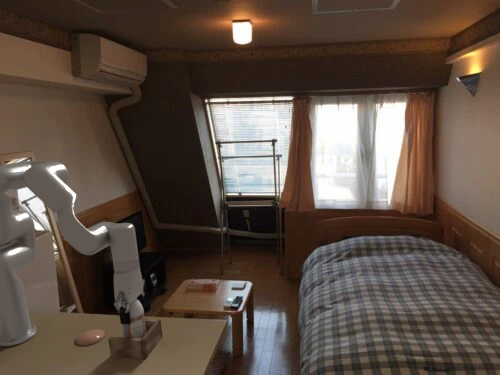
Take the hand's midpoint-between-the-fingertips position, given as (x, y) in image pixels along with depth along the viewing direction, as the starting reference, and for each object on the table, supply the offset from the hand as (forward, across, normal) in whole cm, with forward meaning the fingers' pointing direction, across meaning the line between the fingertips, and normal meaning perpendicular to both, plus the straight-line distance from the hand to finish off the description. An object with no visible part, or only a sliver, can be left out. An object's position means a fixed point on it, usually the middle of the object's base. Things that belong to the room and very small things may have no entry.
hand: (133, 315), depth 130 cm
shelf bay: (+10, 0, 0) cm, 11 cm away
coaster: (+10, -3, -18) cm, 21 cm away
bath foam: (+11, 0, 0) cm, 11 cm away
